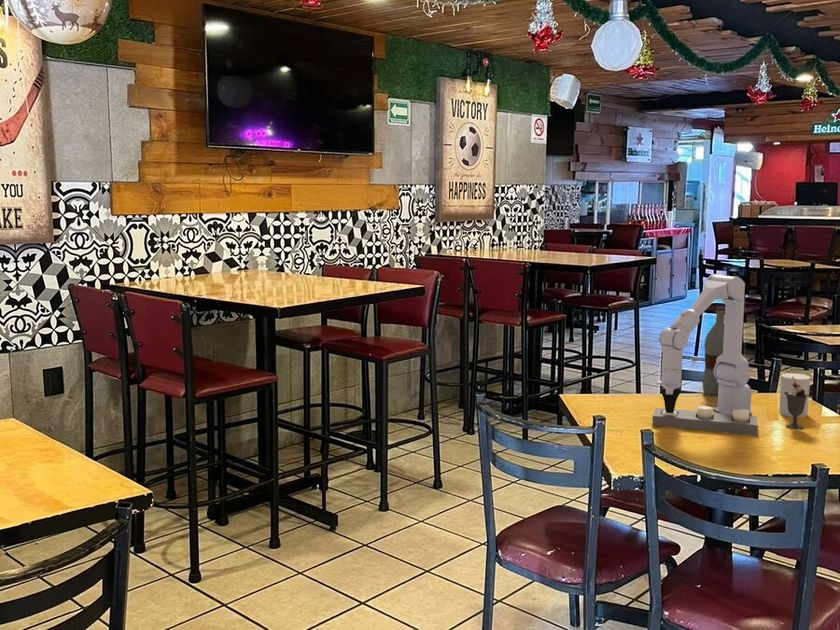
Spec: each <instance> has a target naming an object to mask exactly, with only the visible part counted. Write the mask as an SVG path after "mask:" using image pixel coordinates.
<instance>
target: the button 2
mask: <svg viewBox="0 0 840 630" xmlns="http://www.w3.org/2000/svg"><path fill="white" fill-rule="evenodd" d="M749 416H750V413H749V411H748V410H743V409H735V410H733V421H740V422H749Z"/></svg>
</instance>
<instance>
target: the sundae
mask: <svg viewBox="0 0 840 630" xmlns="http://www.w3.org/2000/svg"><path fill="white" fill-rule="evenodd" d="M792 378H793V379H794V377H792ZM794 381H795V379H794ZM784 394H785V395H786V396H787V403H788V411H789V412H790V414H791V415H792V416H793V417H792V422H791V423H790V424H786V425H785V427H786V428H787V429H789V428H790V429H791V430H795V429H801V430H803V429H804V426H803V425H799V423H798V418H799V417H798V416H799V415H801V414H802V413H803V410H804V406H805V402H806V398H807V397H808V396H810V394H809V395H807V394H806V393H805V391H804V390H803V388H802V387H801V386H800V385H798V384H797V383H793V384H792V387H791V388H790V389H789V391H788V392H784Z"/></svg>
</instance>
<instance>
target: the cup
mask: <svg viewBox="0 0 840 630" xmlns="http://www.w3.org/2000/svg"><path fill="white" fill-rule="evenodd" d="M780 376H781V379H780V395H779V406H778V407H779V409H778V413H779V414H780V415H782V416H786V417H790V418H793V416H792V415H791V414H790V412H789V411H788V403H787V396H786V395H785V394H784V392H788V391H789V389H790V388H791V387H792V384H793V383H797V384H798V385H800V386H801V387H802V388H803V390H804V391H805V393H806V394H807V395H809V396H810V387H811V386H810V383H811V377H810V376H809V375H806V374H800V373H792V372H791V373H782V374H781V375H780ZM792 377H794V379H795V381H794V379H793V378H792ZM809 396H808V397H807V398H806V402H805V406H804V410H803V413H802V414H801V415H799V416H798V417H797V418H804V416H806V417H808V414H809V413H808V411H809V398H810V397H809Z"/></svg>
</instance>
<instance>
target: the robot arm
mask: <svg viewBox="0 0 840 630" xmlns="http://www.w3.org/2000/svg"><path fill="white" fill-rule="evenodd" d="M745 286H746V283H745V281H744V280H743V279H742V278H740V277H739V276H731V275H722V274H721V275H719V274H716V273H713V274H711V275H709V276H708V277H707V279H706V280H704V283H703V290H702V291H701V293H700V294H699V296H698V297H697V298H696V300H695V301H694V302H693V304H692V306H691V307H690V308H689V309H683V310H682V311H681V312H680V314H679V316H677V318H676V319H675V320H674V321H673V323H672V324H670V326H669V327H666V328H664V329H663V330H662V331H661V332H660V334H659V336H658V343H659V345H660V350H661V352H662V356H661V357H662V358H661V378H660V379H661V380H658V381H657V382H656V384H657V385H660V386H661V387H662V388H660V394H661V395H662V399H663V402H664V408H665V410H666V413H673V412H674V409H675V408H676V403H677V400H678V398H679V395H680V394H681V392H682V391H681V389H682V388H681V387H682V384H683V383H682V375H683V374H682V371H683V355H684V354H683V351H684V350H683V349H684V348H685V347H686V346H687V345H688V343H689V339H690V334H691V333H692V332H693V331H694V329H695V328H696V327H697V326H698V325H699V323H700V322H701V321H700V320H701V319H700V316H701V315H702V314H703V313H704V312H705V311H706V310H707V309H708V308H709V307H710V306H711V305H712V304H713V302H715V301H716V300H720V301H722V303H723V304H724V305H725V307H724V308H725V309H724V342H723V354H722V355H720V356H719V357H717V359H716V365H715V368H714V376H715V378H716V379H717V383H719V391H718V396H717V406H713V407H712V406H711V407H712V408H713V411H715V412H717V413H723V414H733V410H735V409H743V410H748V411H749V414H753V412H752V411H751V406H752V389H751V387H750V385H749V384H747V383H748V382H749V380H750V378H751V372H750V368H749V367H750V366H749V361H748V360H747V359H746V358H745V356H744V355H743V354H742V347H743V328H744V313H745V312H744V310H745V289H746V287H745Z"/></svg>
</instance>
